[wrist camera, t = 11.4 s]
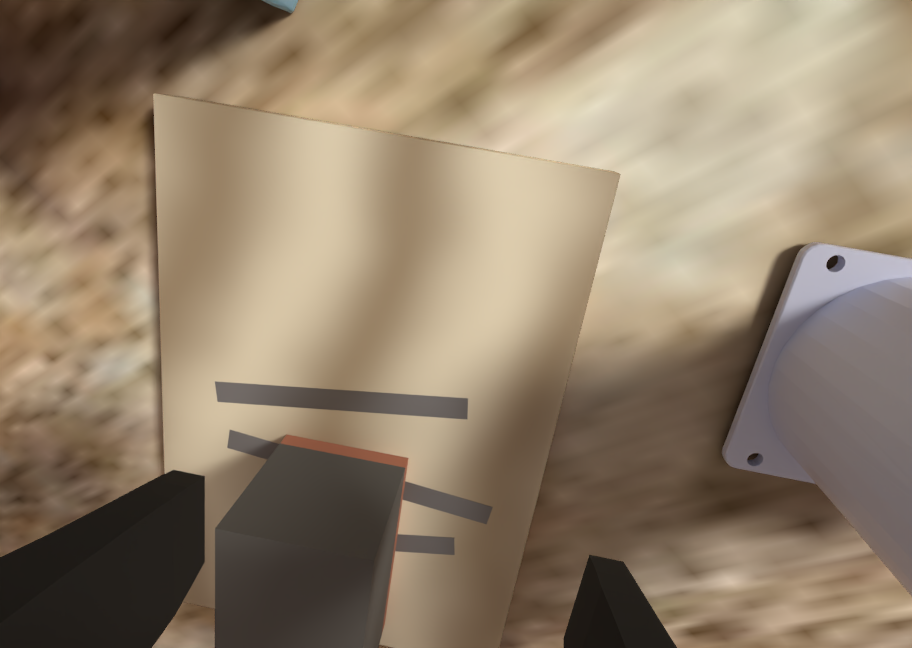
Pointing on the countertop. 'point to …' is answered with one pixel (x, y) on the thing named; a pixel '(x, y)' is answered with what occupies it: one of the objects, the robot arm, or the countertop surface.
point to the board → (374, 331)
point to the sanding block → (309, 549)
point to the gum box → (283, 4)
